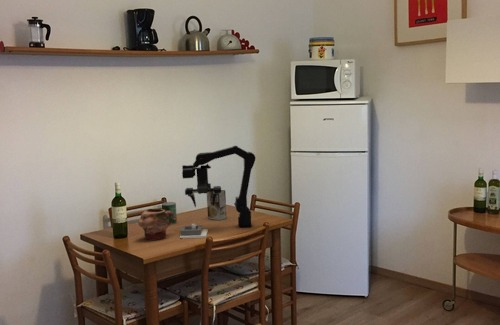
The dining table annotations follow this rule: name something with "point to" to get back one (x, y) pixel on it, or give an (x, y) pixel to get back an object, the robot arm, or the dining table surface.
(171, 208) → the canned tomato
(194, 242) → the dining table surface
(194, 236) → the post stand
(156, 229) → the decorative planter
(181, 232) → the grey square frame
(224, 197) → the coffee box
